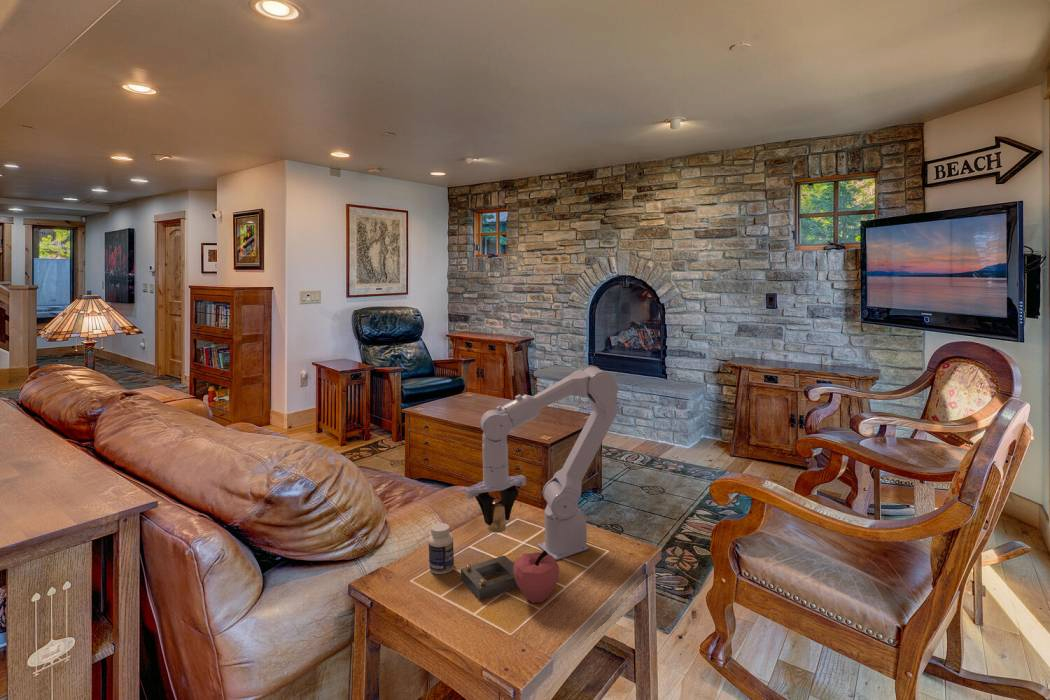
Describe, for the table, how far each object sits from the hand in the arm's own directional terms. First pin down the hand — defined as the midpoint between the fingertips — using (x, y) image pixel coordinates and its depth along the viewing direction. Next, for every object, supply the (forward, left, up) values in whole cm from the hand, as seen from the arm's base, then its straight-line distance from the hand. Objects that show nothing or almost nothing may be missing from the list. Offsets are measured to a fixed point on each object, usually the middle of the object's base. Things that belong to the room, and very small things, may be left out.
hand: (497, 521), depth 126 cm
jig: (+6, +9, -9) cm, 14 cm away
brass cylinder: (0, 0, -2) cm, 2 cm away
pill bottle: (+13, -2, -9) cm, 16 cm away
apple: (+1, +19, -9) cm, 21 cm away
